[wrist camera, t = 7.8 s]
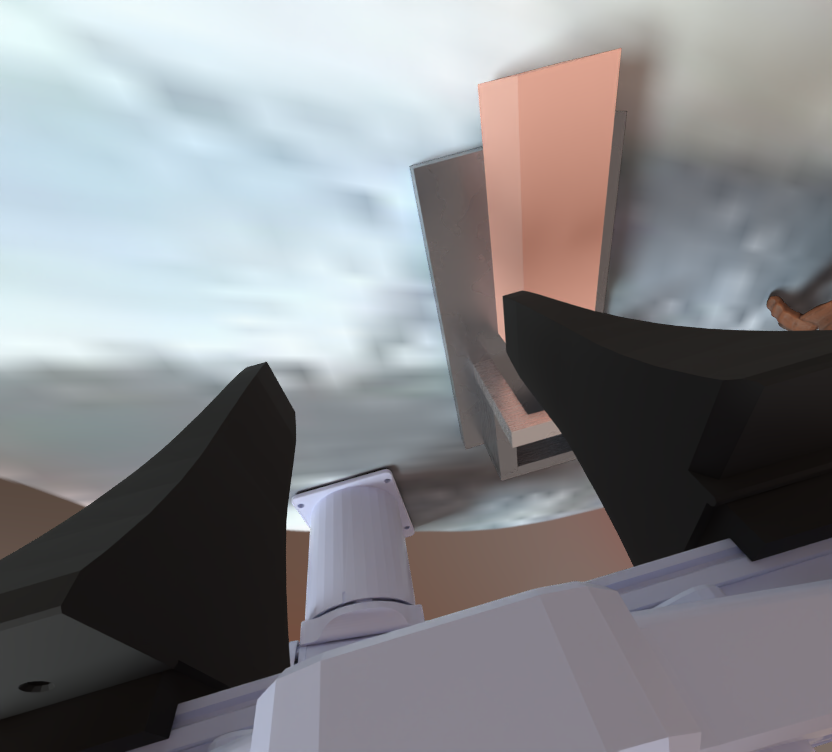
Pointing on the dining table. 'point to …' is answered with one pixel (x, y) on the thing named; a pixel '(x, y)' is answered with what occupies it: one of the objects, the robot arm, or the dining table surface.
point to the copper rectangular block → (549, 176)
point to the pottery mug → (800, 316)
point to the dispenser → (489, 311)
